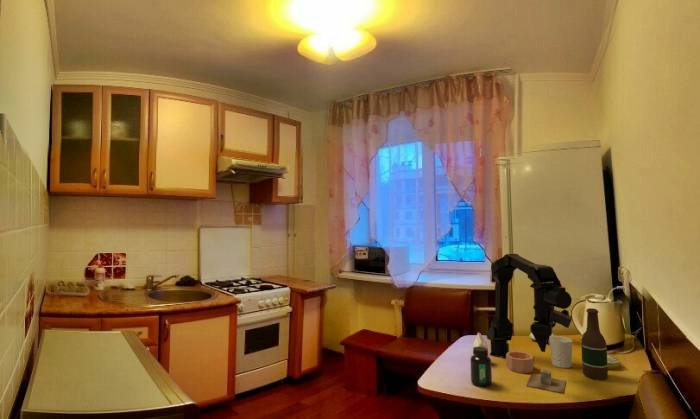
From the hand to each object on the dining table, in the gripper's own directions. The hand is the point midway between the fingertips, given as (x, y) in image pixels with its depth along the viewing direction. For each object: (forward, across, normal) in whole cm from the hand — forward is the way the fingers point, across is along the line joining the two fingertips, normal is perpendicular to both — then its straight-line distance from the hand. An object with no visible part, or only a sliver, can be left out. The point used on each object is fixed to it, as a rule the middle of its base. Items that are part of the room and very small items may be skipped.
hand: (544, 347), depth 130 cm
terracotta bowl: (+12, +10, +10) cm, 19 cm away
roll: (+13, +8, +24) cm, 28 cm away
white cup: (+13, +22, -3) cm, 25 cm away
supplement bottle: (+13, -11, +19) cm, 25 cm away
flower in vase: (+13, +50, +6) cm, 52 cm away
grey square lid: (+13, 0, 0) cm, 13 cm away
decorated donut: (+13, +30, -17) cm, 37 cm away
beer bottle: (+12, +16, -14) cm, 25 cm away
